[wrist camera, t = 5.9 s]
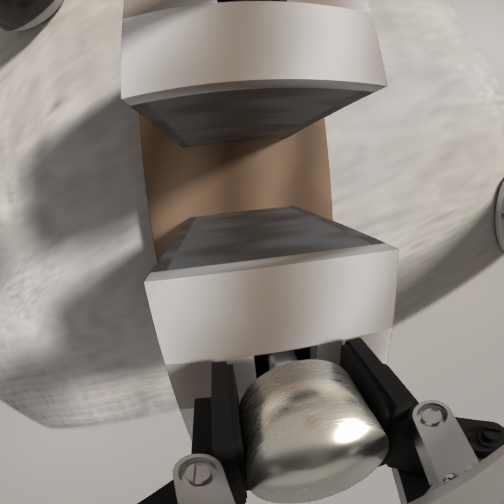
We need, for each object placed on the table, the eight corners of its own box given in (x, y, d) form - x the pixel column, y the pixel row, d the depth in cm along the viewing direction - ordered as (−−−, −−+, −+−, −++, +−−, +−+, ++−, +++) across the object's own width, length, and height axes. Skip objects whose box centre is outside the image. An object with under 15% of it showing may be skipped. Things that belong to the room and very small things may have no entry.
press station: (304, 29, 22) (383, -80, 6) (328, 315, 30) (415, 432, 13) (141, 41, 21) (74, -71, 4) (177, 336, 29) (149, 480, 12)
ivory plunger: (285, 219, 25) (461, 341, 5) (290, 294, 27) (401, 485, 7) (202, 228, 24) (152, 407, 5) (213, 305, 26) (216, 527, 7)
